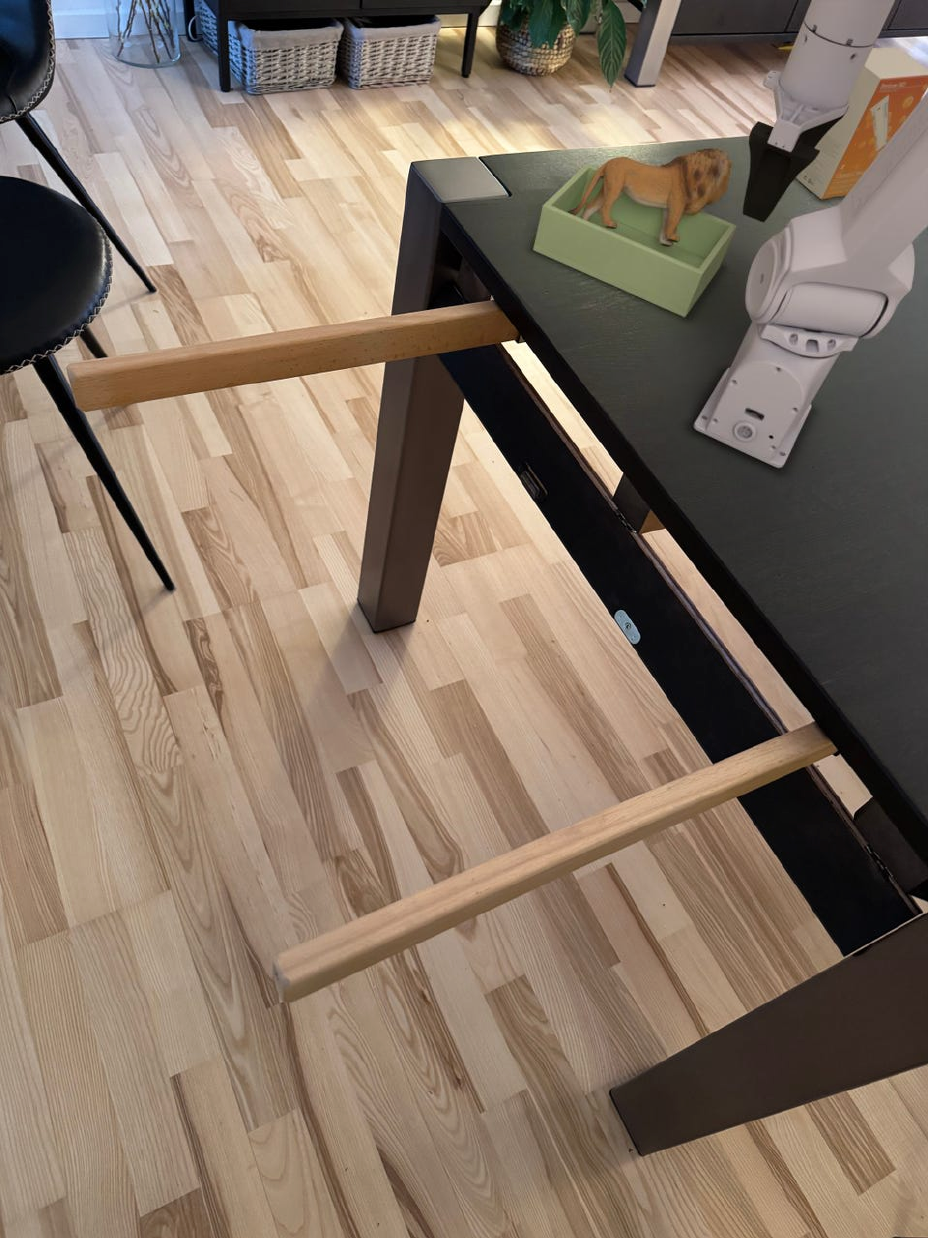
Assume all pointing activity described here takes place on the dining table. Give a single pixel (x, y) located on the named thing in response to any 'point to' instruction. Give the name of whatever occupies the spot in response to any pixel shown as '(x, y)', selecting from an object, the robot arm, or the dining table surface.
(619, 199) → the bin
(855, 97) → the small box
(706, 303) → the dining table surface
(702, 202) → the lion figurine
